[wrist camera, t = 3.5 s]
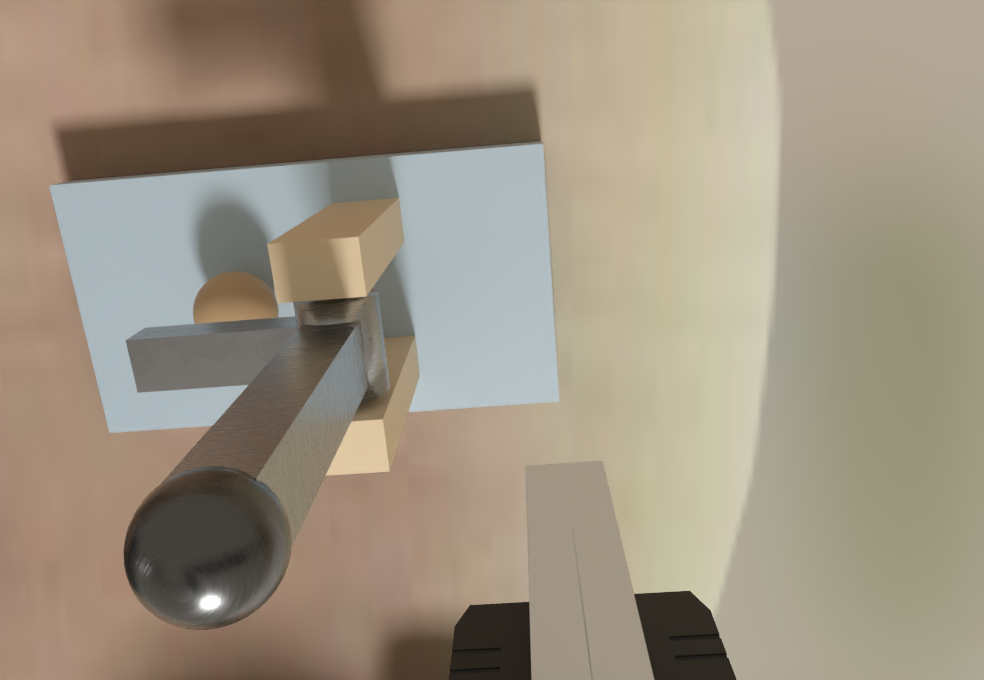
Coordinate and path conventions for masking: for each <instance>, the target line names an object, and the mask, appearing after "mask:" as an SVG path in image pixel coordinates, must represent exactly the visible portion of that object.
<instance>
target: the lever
mask: <svg viewBox="0 0 984 680" xmlns="http://www.w3.org/2000/svg"><path fill="white" fill-rule="evenodd" d="M293 305H294V311H295V316H291V317H278V318H265V319H252V320H239V321H225V322H212V323H199V324H186V325H173V326H159V327H146V328H144V329H142V330H141V331H139V332H138V333H136V334H135V335H133V336H131V337H130V338H128V339H127V340H126V344H127V349H128V353H129V357H130V362H131V366H132V370H133V375H134V379H135V384H136V388H137V392H138V393H143V392H156V391H170V390H184V389H198V388H212V387H226V386H240V385H248V386H247V387H246V389H245V390H244V391H243V392H242V393H241V394H240V395H239V396H238V398H237V399H236V400H235V401H234V402H233V403H232V404H231V405H230V407H229V408H228V409H227V410H226V411H225V412H224V413H223V414H222V416H221V417H220V418H219V419H218V420H217V421H216V422H215V423H214V425H213V426H212V427H211V428H210V429H209V430H208V431H207V432H206V434H205V435H204V436H203V437H202V438H201V439H200V440H199V441H198V443H197V444H196V445H195V446H194V447H193V448H192V449H191V450H190V452H189V453H188V454H187V455H186V456H185V457H184V458H183V459H182V461H181V462H180V463H179V464H178V465H177V466H176V467H175V468H174V470H173V471H172V472H171V473H170V474H169V475H168V476H167V477H166V479H165V480H164V481H163V482H162V483H161V484H160V485H159V486H158V487H157V488H155V489H154V490H153V491H152V492H151V493H150V494H149V495H148V496H147V497H146V498H145V499H144V501H143V502H142V503H141V505H140V506H139V508H138V509H137V511H136V512H135V514H134V516H133V518H132V520H131V522H130V525H129V527H128V530H127V534H126V538H125V544H124V566H125V572H126V575H127V578H128V581H129V584H130V586H131V588H132V590H133V592H134V594H135V595H136V597H137V599H138V600H139V601H140V602H141V603H142V605H143V606H144V607H145V608H146V609H148V610H149V611H150V612H151V613H152V614H154V615H155V616H156V617H158V618H159V619H161V620H163V621H165V622H167V623H169V624H172V625H175V626H178V627H182V628H186V629H194V630H207V629H215V628H220V627H224V626H228V625H230V624H233V623H236V622H238V621H240V620H242V619H244V618H246V617H248V616H249V615H250V614H252V613H253V612H255V611H256V610H257V609H259V608H260V607H261V606H262V605H263V604H264V603H265V602H266V601H267V600H268V599H269V598H270V597H271V596H272V594H273V593H274V592H275V591H276V589H277V588H278V586H279V584H280V582H281V581H282V579H283V577H284V575H285V572H286V569H287V566H288V564H289V560H290V555H291V546H292V544H293V542H294V540H295V538H296V536H297V534H298V532H299V530H300V528H301V526H302V523H303V521H304V519H305V517H306V515H307V513H308V511H309V509H310V507H311V505H312V503H313V500H314V498H315V496H316V494H317V492H318V490H319V488H320V486H321V484H322V482H323V480H324V478H325V475H326V473H327V471H328V469H329V467H330V465H331V463H332V461H333V459H334V457H335V455H336V452H337V450H338V448H339V446H340V444H341V442H342V440H343V438H344V436H345V434H346V432H347V430H348V427H349V425H350V423H351V421H352V419H353V417H354V415H355V413H356V411H357V409H358V407H359V405H360V403H364V402H367V401H370V400H373V399H376V398H378V397H380V396H382V395H383V394H385V393H386V392H387V391H388V390H389V388H390V382H389V374H388V367H387V359H386V351H385V343H384V336H383V328H382V320H381V312H380V305H379V297H378V291H377V290H376V289H373V288H372V289H371V291H370V292H369V294H368V295H367V296H366V297H354V298H341V299H328V300H315V301H302V302H293Z"/></svg>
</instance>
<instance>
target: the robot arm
mask: <svg viewBox="0 0 984 680" xmlns="http://www.w3.org/2000/svg"><path fill="white" fill-rule="evenodd" d="M525 468H526V503H527V538H528V573H529V602H521V603H502V604H484V605H470V606H469V607H468V609H467V610H466V612H465V613H464V614H463V616H462V617H461V619H460V620H459V621H458V623H457V624H456V626H455V630H454V639H453V648H452V657H451V666H450V675H449V680H736V677H735V675H734V672H733V669H732V667H731V664H730V661H729V659H728V658H727V654H726V651H725V648H724V645H723V643H722V640H721V638H720V637H719V632H718V630H717V627H716V624H715V621H714V619H713V616H712V613H711V611H710V610H709V609H708V608H707V607H706V606H705V605H704V604H703V603H702V602H701V601H700V600H699V599H698V598H697V597H696V596H694V595H693V594H692V593H691V592H690V591H680V592H662V593H644V594H634V592H633V588H632V583H631V579H630V575H629V571H628V567H627V562H626V558H625V554H624V550H623V545H622V541H621V537H620V533H619V529H618V524H617V520H616V516H615V512H614V508H613V503H612V499H611V495H610V491H609V486H608V482H607V478H606V474H605V470H604V465H603V461H592V462H576V463H561V464H545V465H529V466H525Z"/></svg>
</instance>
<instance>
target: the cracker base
mask: <svg viewBox="0 0 984 680" xmlns="http://www.w3.org/2000/svg"><path fill="white" fill-rule="evenodd" d="M49 187H50V191H51V195H52V199H53V203H54V207H55V211H56V215H57V220H58V224H59V228H60V232H61V236H62V240H63V244H64V248H65V252H66V257H67V261H68V265H69V269H70V273H71V277H72V281H73V285H74V289H75V294H76V298H77V302H78V306H79V310H80V314H81V318H82V322H83V326H84V330H85V335H86V339H87V343H88V347H89V351H90V355H91V359H92V363H93V367H94V372H95V376H96V380H97V384H98V388H99V392H100V396H101V400H102V404H103V408H104V413H105V417H106V421H107V425H108V429H109V433H115V432H130V431H144V430H158V429H172V428H187V427H201V426H213V425H214V423H215V422H216V421H217V420H218V419H219V418H220V417H221V416H222V414H223V413H224V412H225V411H226V410H227V409H228V408H229V407H230V405H231V404H232V403H233V402H234V401H235V400H236V399H237V398H238V396H239V395H240V394H241V393H242V392H243V391H244V390H245V389H246V387H247V386H248V385H240V386H226V387H212V388H198V389H184V390H170V391H156V392H143V393H138V392H137V388H136V384H135V379H134V375H133V370H132V366H131V362H130V357H129V353H128V349H127V344H126V340H127V339H128V338H130V337H131V336H133V335H135V334H136V333H138V332H139V331H141V330H142V329H144V328H146V327H159V326H173V325H186V324H199V323H212V322H225V321H239V320H252V319H265V318H278V317H291V316H295V311H294V305H293V302H302V301H315V300H328V299H341V298H354V297H366V296H367V295H368V294H369V292H370V291H371V289H372V288H373V289H376V290H377V291H378V297H379V305H380V312H381V320H382V328H383V336H384V343H385V351H386V359H387V367H388V374H389V382H390V388H389V390H388V391H387V392H386V393H385V394H383V395H382V396H380V397H378V398H376V399H373V400H370V401H367V402H364V403H360V405H359V407H358V409H357V411H356V413H355V415H354V417H353V419H352V421H351V423H350V425H349V427H348V430H347V432H346V434H345V436H344V438H343V440H342V442H341V444H340V446H339V448H338V450H337V452H336V455H335V457H334V459H333V461H332V463H331V465H330V467H329V469H328V471H327V473H326V475H325V476H327V475H342V474H357V473H372V472H387V471H390V469H391V466H392V463H393V459H394V456H395V453H396V450H397V447H398V444H399V440H400V437H401V434H402V431H403V428H404V425H405V421H406V418H407V415H408V412H416V411H430V410H444V409H459V408H473V407H487V406H502V405H516V404H530V403H545V402H559V389H558V373H557V357H556V342H555V326H554V310H553V294H552V278H551V262H550V246H549V230H548V214H547V198H546V183H545V167H544V151H543V143H542V141H535V142H524V143H512V144H500V145H488V146H476V147H464V148H453V149H441V150H429V151H417V152H405V153H393V154H381V155H370V156H358V157H346V158H334V159H322V160H310V161H299V162H287V163H275V164H263V165H251V166H239V167H227V168H216V169H204V170H192V171H180V172H168V173H156V174H145V175H133V176H121V177H109V178H97V179H85V180H74V181H68V182H63V183H58V184H53V185H49Z"/></svg>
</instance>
